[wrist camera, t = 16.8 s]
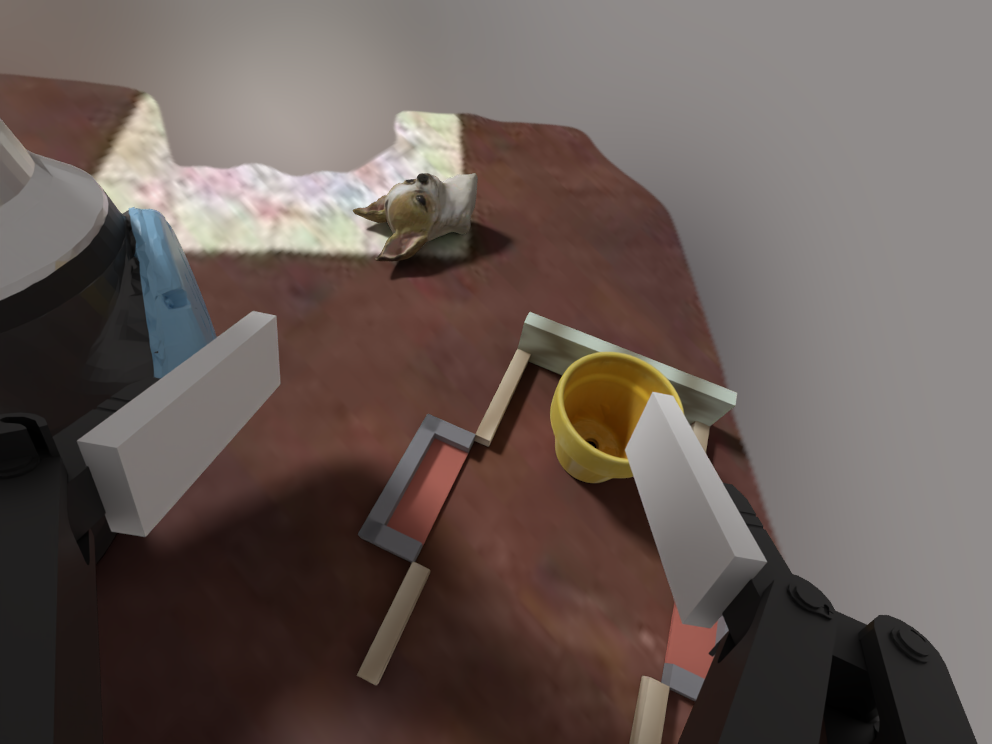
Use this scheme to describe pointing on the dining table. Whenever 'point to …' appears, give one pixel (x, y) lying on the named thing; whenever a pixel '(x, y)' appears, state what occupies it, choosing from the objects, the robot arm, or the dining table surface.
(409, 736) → the dining table surface
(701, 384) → the box
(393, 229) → the ceramic sculpture
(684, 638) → the trap bays
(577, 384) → the plant pot
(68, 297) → the robot arm
